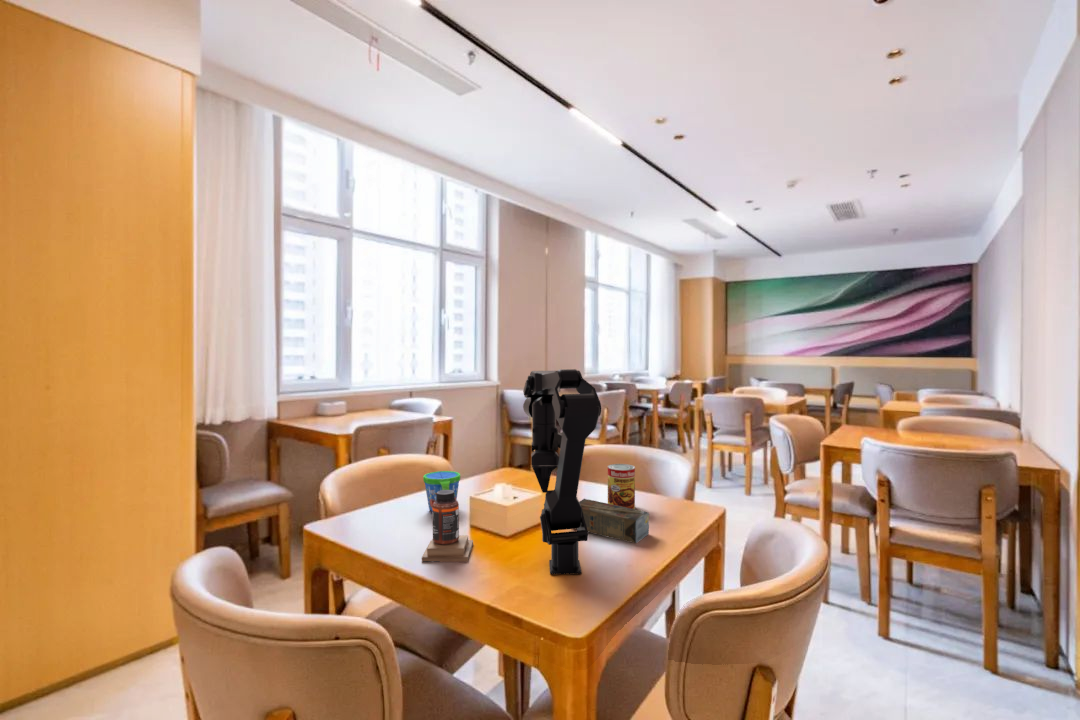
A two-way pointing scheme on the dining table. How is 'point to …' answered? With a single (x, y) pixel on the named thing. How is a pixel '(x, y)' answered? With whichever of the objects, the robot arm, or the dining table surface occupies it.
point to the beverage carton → (615, 521)
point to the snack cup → (440, 484)
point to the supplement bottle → (445, 518)
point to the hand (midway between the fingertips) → (544, 487)
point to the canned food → (621, 485)
